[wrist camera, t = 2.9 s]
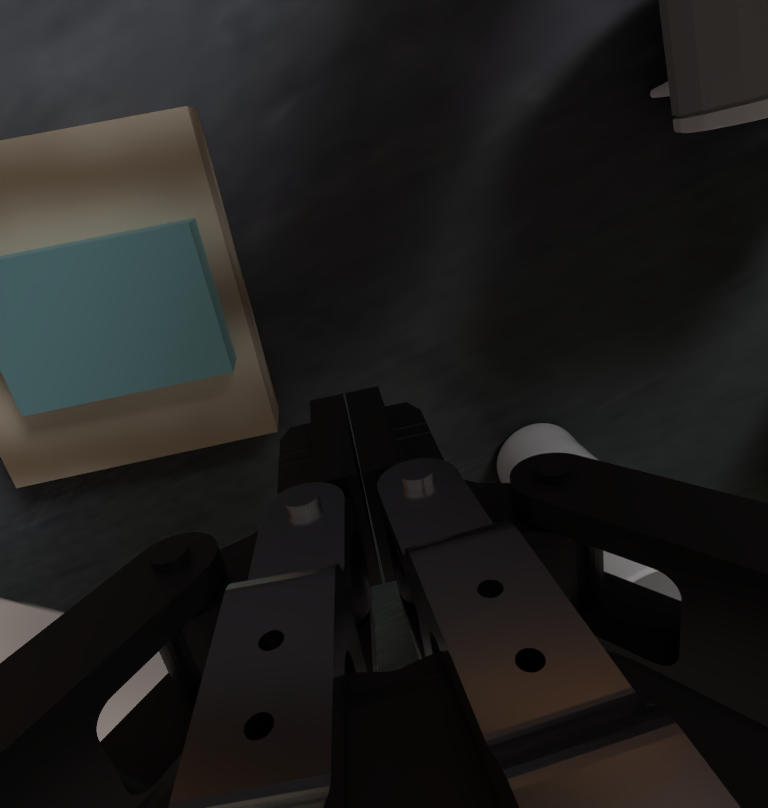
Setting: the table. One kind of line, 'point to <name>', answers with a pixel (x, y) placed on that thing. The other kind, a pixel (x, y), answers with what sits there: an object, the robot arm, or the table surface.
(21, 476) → the tan wooden board
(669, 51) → the alarm clock
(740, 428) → the table surface
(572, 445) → the drinking glass
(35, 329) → the tile
